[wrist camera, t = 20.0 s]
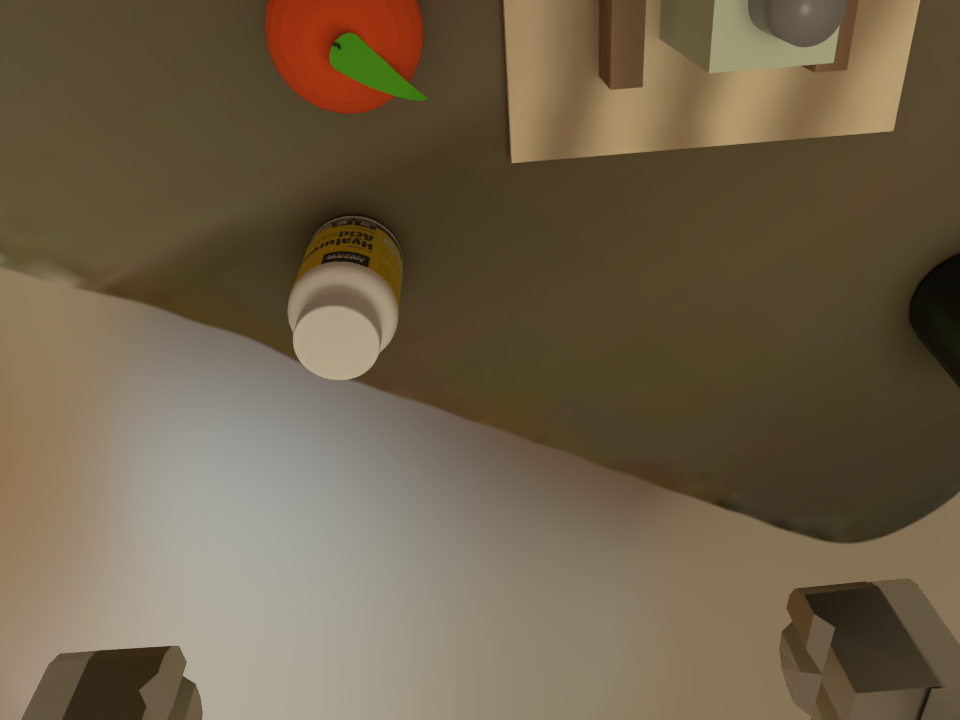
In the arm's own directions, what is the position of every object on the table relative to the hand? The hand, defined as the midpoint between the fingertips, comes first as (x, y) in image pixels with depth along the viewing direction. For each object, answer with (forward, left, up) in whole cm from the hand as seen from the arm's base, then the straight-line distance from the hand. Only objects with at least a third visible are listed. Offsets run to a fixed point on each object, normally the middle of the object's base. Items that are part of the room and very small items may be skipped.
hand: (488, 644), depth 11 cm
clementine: (-4, +3, -34) cm, 35 cm away
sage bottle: (+13, +4, -33) cm, 36 cm away
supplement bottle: (-6, -9, -34) cm, 36 cm away
